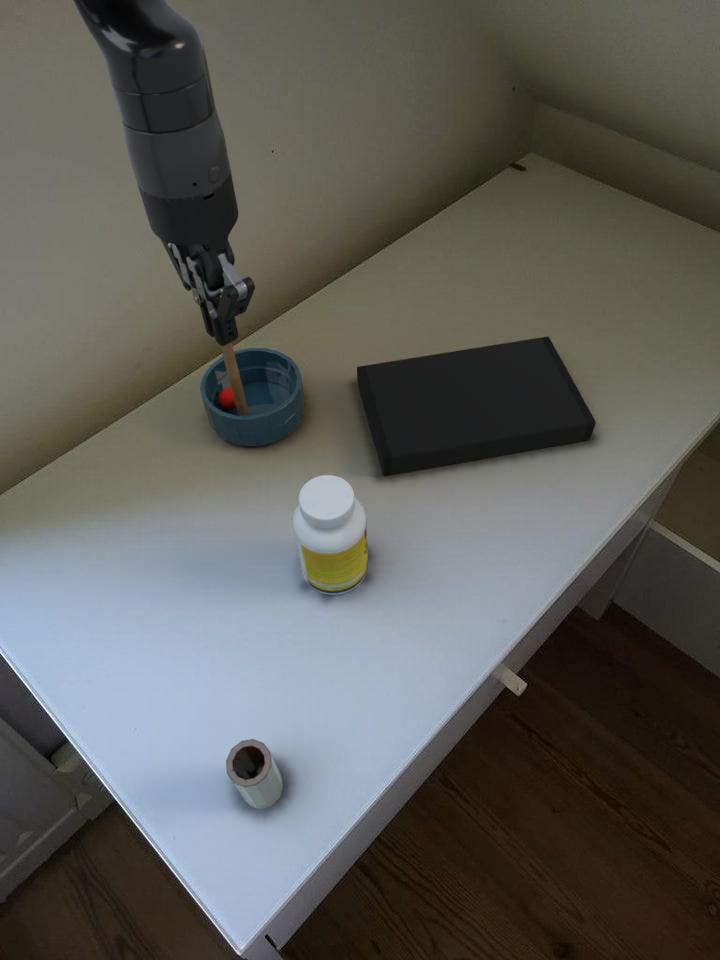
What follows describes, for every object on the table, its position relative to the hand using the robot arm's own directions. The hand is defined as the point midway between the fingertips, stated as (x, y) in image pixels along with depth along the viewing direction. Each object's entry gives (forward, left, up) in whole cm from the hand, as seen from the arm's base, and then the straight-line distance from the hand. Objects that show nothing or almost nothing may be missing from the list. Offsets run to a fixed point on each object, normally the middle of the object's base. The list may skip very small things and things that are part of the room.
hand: (223, 336), depth 69 cm
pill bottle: (-15, -17, -13) cm, 26 cm away
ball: (+1, +2, -11) cm, 11 cm away
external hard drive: (+10, -24, -13) cm, 29 cm away
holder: (-35, -19, -12) cm, 42 cm away
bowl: (+1, -1, -12) cm, 13 cm away
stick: (0, 0, -11) cm, 11 cm away
